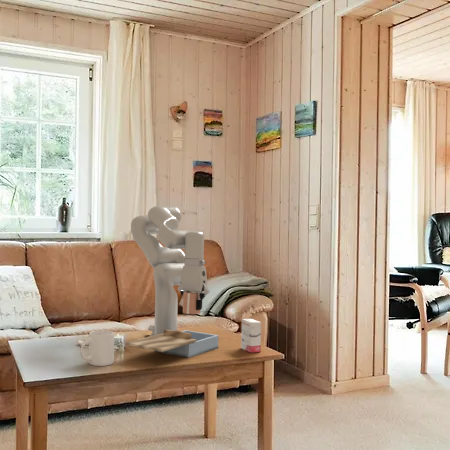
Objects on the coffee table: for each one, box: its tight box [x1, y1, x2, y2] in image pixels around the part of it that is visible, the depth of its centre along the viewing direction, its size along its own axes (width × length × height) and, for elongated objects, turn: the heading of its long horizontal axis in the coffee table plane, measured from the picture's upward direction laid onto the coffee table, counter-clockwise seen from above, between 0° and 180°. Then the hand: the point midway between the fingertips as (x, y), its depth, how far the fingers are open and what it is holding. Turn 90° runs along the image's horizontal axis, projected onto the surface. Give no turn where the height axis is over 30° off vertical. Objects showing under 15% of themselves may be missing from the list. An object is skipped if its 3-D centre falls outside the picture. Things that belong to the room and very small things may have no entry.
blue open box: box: [154, 329, 220, 358], centre depth 228 cm, size 16×20×5 cm
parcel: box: [182, 292, 202, 315], centre depth 229 cm, size 5×5×8 cm
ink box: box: [240, 318, 262, 354], centre depth 230 cm, size 9×5×12 cm, turn 24°
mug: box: [80, 329, 115, 367], centre depth 203 cm, size 9×12×11 cm
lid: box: [125, 329, 197, 353], centre depth 214 cm, size 17×21×3 cm
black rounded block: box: [76, 335, 89, 348], centre depth 231 cm, size 9×8×4 cm
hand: (192, 308), depth 230 cm, fingers closed on parcel, 5 cm apart
